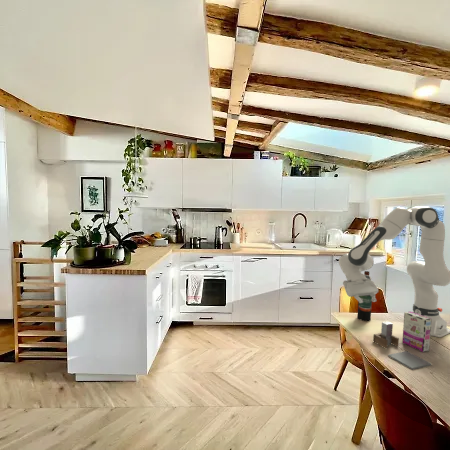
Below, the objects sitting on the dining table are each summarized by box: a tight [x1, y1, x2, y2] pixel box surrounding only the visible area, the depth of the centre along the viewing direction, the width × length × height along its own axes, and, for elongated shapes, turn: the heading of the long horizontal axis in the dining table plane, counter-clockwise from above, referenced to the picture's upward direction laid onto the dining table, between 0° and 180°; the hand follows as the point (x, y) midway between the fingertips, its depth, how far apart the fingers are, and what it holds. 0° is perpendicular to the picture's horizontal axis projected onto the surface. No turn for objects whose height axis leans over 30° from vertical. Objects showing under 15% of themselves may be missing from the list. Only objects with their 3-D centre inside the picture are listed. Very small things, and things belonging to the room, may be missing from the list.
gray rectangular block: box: [380, 321, 394, 346], centre depth 154 cm, size 4×3×11 cm
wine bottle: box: [356, 270, 373, 322], centre depth 187 cm, size 8×8×30 cm
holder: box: [372, 332, 400, 349], centre depth 154 cm, size 9×7×4 cm
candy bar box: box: [401, 311, 432, 353], centre depth 151 cm, size 11×5×16 cm, turn 23°
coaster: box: [387, 350, 432, 370], centre depth 138 cm, size 12×12×1 cm
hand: (368, 302), depth 164 cm, fingers open, 8 cm apart
